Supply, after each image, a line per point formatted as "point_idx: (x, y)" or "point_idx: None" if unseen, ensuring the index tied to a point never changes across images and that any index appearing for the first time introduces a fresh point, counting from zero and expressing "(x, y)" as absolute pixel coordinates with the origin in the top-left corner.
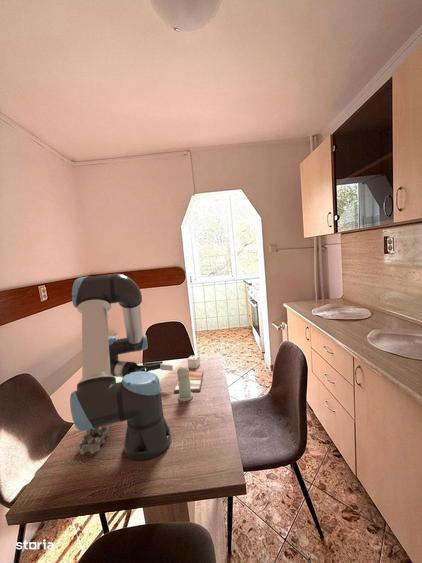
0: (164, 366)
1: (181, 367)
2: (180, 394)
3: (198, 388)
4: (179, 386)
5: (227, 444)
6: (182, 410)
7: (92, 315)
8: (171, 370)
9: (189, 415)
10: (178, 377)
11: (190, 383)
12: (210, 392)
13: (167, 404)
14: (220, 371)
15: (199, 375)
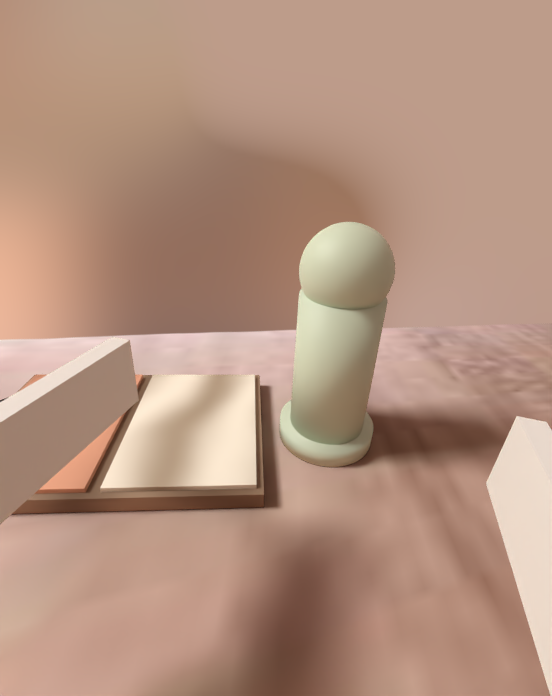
0: (41, 427)
1: (370, 228)
2: (360, 421)
3: (255, 377)
4: (368, 375)
5: (538, 331)
6: (454, 430)
7: None
8: (132, 400)
9: (475, 403)
10: (380, 311)
11: (182, 410)
12: (272, 358)
13: (433, 519)
14: (69, 338)
15: None
